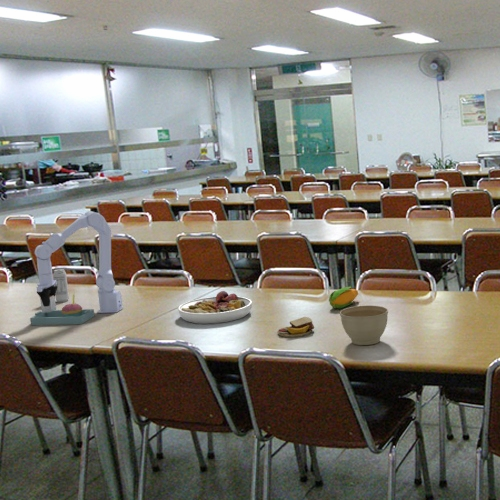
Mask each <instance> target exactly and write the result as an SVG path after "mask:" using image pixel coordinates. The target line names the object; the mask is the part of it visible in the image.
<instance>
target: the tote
mask: <svg viewBox="0 0 500 500" xmlns="http://www.w3.org/2000/svg"><path fill="white" fill-rule="evenodd" d="M92 318H95V309H93V308H88V309H83V308H82V311H81V313H80V316H75V317H66V316H65V315H64V314H62V309H56V310H55V311H53V312H42V310H41V311H40V310H39V311H37V312H35V313H34V316H31V317H30V318H29V321H30V325H31V326H50V325H51V326H52V325H56V326H57V325H58V326H59V325H83V324H84V323H86V322H87V321H89V320H90V319H92Z"/></svg>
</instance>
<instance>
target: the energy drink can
mask: <svg viewBox="0 0 500 500" xmlns="http://www.w3.org/2000/svg"><path fill="white" fill-rule="evenodd" d="M52 274H53V280H56V282H57V284H56V285H54V286H58V288H57V291H56V294H55V301H57V303H65V302H68V301H69V300H70V295H69V289H68V288H69V287H68V278H67V272H66V270H65V269H64V268H59V269H55V270H53V272H52Z"/></svg>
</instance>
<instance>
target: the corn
mask: <svg viewBox="0 0 500 500" xmlns="http://www.w3.org/2000/svg"><path fill="white" fill-rule="evenodd" d="M358 295H359V291H358V290H357V289H356V288H355V289H354V288H352V286H345V287H342V288H339V289H337V290H334V291H333V292H331V293H330V295H329V297H328V303H329V305H330V306H331V307H332V308H334V309H342V308H343V309H344V308H346V307H348V306H350V305H352V304H353V303H355V299H356V298H357V297H358Z"/></svg>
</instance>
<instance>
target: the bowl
mask: <svg viewBox="0 0 500 500" xmlns="http://www.w3.org/2000/svg"><path fill="white" fill-rule="evenodd" d="M252 305H253V301H252V299H250V298H247V297H242V296H238V295H237V294H236V293H233V292H232V293H231V294H229V293H228V292H227V291H225V290H221V291H219V292H217V294H216V296H209V297H202V298H197V299H193V300H189V301H187V302H184V303H182V304H180V305H179V306H178V308H177V309H178V314H179V316H180V317H181V319H183V320H184V321H186V322H188V323H192V324H198V325H199V324H200V325H201V324H202V325H207V324H208V325H210V324H223V323H228V322H234V321H237V320H240V319H242V318H244V317H246V316H247V315H248V314H249V313H250V312H251V310H252V308H253V306H252Z"/></svg>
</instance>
